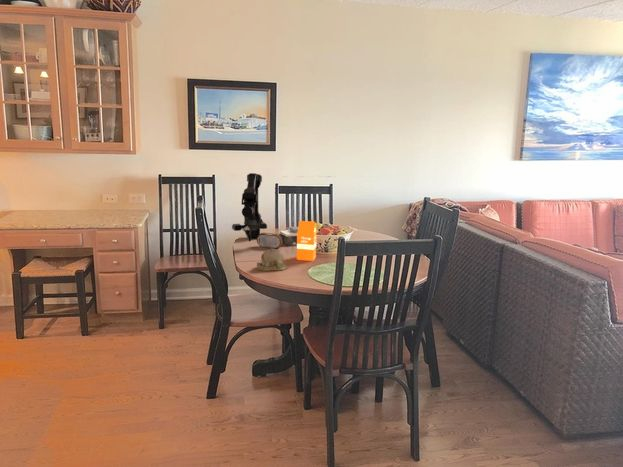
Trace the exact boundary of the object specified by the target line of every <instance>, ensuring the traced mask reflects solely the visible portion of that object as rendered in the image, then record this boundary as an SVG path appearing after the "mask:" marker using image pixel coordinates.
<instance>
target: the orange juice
mask: <svg viewBox="0 0 623 467" xmlns="http://www.w3.org/2000/svg"><path fill="white" fill-rule="evenodd" d="M297 227H298V232H297V244H296V260H299V261H307V262H313V261H315V259H316V258H317V225H316V221H309V220H307V221H306V220H299V221H298V226H297Z"/></svg>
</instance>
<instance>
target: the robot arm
mask: <svg viewBox="0 0 623 467" xmlns="http://www.w3.org/2000/svg"><path fill="white" fill-rule="evenodd" d="M246 182H247V186H246V188H245V189H243V190H244V191H243V193H242V194H241V195H242V197H241V206H242V205H243V208H242V209H241V214H242V216H243V218H244V221H243V224H241V223H232V225H231V229H232V230H233V231H236V232H237V231H238V232H240V231H241V230H242V231H243V232H244V233H245V236H246V237H247V240H248V242H251V241H252V240H257V237H258V235H259V234H261V230H265V229H267V228H268V224H267V223H265V222H264V221H263V219H262V215H261V214H260V212H259V188H260V187H261V184H262V182H263V176H262V175H261V174H260V173H255V172H250V173H247V174H246Z"/></svg>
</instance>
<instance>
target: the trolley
mask: <svg viewBox="0 0 623 467" xmlns="http://www.w3.org/2000/svg"><path fill="white" fill-rule="evenodd" d="M297 232H298V226H290V227H289V230H288V229H287V230H279V234H278V235H280V236H281V238H282V240H283V242H282V243H284V245H286V246H289V247H290V246H292V245H293V243H294V242H295V244H296V245H297Z"/></svg>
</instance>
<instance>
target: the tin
mask: <svg viewBox="0 0 623 467" xmlns="http://www.w3.org/2000/svg"><path fill="white" fill-rule="evenodd" d="M256 243H257V244H258V246H259V247H261V248H266V249H271V248H274V250H277V249H279V248H280V247H282V245H283V243H284V242H283V240H282V238H281V236H280V235H279V234H278V233H270V232H260V234H259V235H258V237H257V239H256Z"/></svg>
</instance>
